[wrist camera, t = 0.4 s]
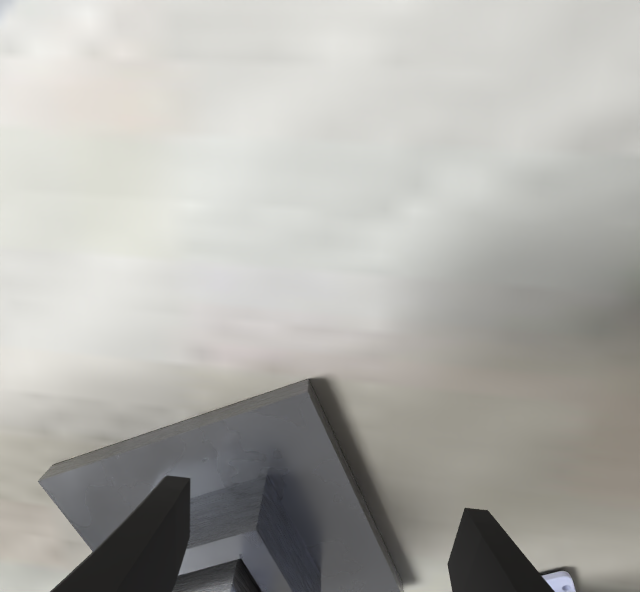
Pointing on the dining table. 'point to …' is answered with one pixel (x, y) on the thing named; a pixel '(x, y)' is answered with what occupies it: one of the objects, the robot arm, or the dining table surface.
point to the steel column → (218, 579)
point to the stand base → (243, 494)
